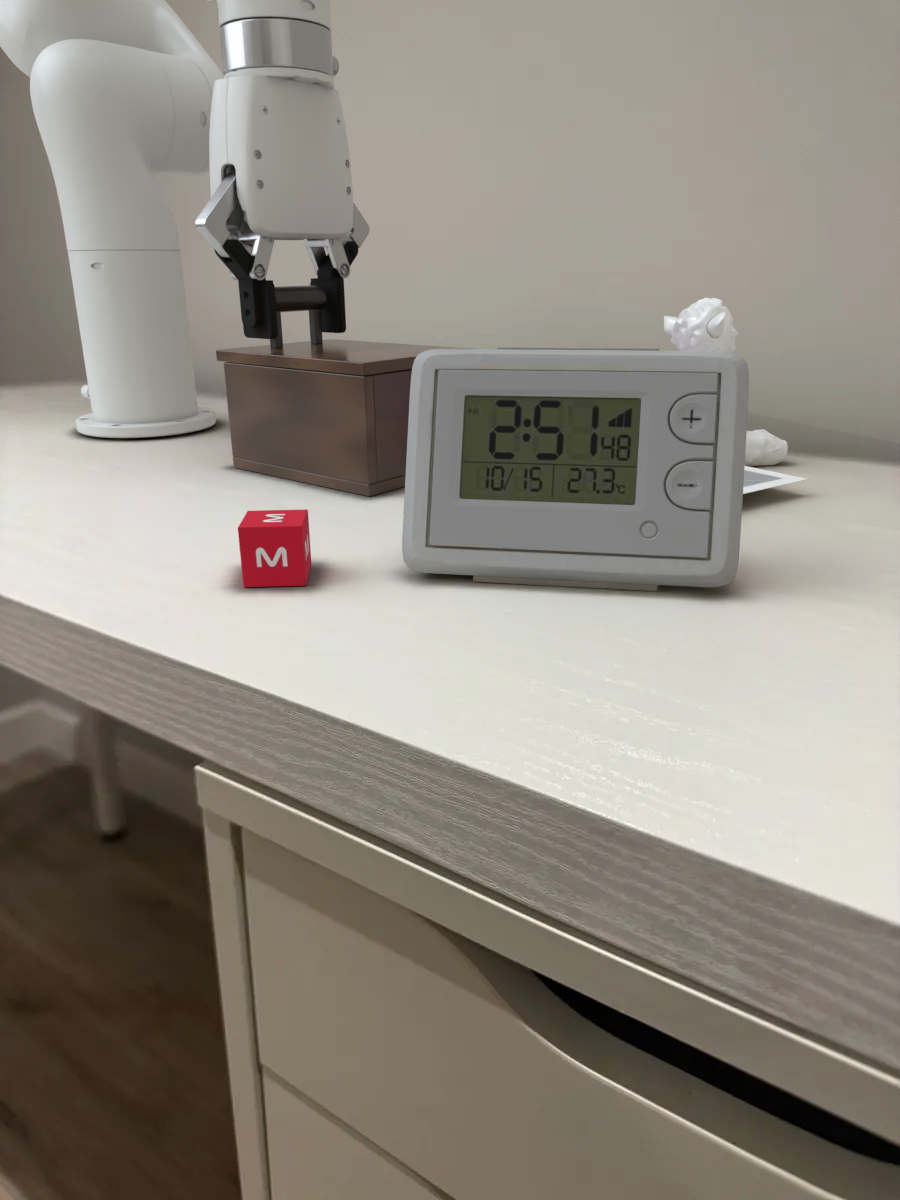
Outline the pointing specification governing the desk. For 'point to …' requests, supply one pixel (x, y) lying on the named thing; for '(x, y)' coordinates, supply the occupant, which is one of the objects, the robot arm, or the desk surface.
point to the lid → (323, 343)
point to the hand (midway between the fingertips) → (296, 332)
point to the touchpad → (765, 479)
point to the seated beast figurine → (714, 331)
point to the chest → (320, 425)
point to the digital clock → (576, 466)
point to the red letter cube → (275, 548)
